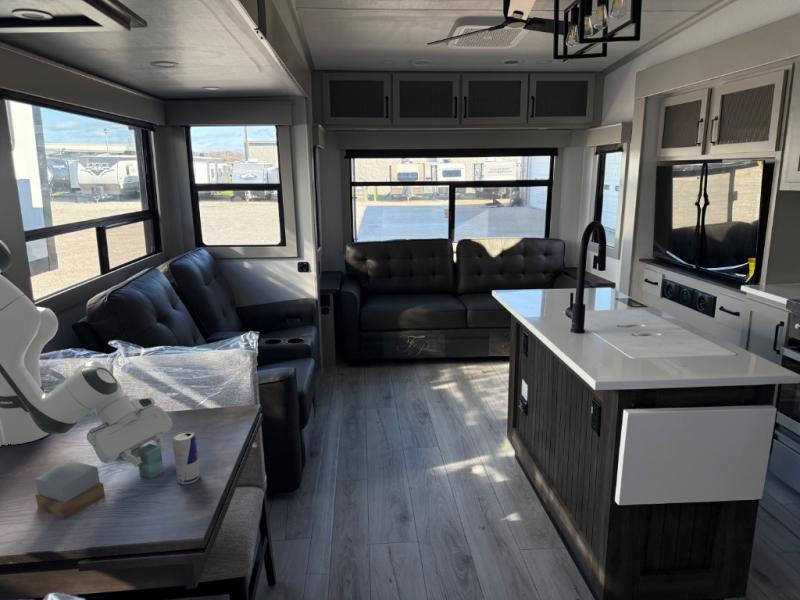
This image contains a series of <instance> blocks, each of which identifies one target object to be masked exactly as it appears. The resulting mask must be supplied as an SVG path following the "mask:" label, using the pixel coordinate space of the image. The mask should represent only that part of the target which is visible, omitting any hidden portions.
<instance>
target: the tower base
mask: <svg viewBox="0 0 800 600" xmlns="http://www.w3.org/2000/svg"><path fill="white" fill-rule="evenodd" d="M105 493H106V492H105V488H104V483H103V482H101V481H100V482H99V483H98V484H96V485H94V486H92V487H91V488H89V489H87V490H86V491H84V492H82V493H80V494H79V495H77V496H75V497H74V498H72V499H70V500H68V501H67V502H62V501H59V500H55V499H52V498H49V497H46V496H42V495H39V494H38V492H37V493H35V498H36V499H35V500H36V505H37V508H38V509H40V510H41V509H42V510H41V511H44V512H46V513H48V514H51V515H54V516H56V517H59V518H61V519H63V520H66V519H68V518H70V517H72V516H74V515H75V514H77V513H79V512H81V511H82V510H84V509H85V508H87V507H89V506H91V505H92V504H94V503H96V502H98V501H100V500H101V499H103V498H105V497H106V495H105Z"/></svg>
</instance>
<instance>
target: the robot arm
mask: <svg viewBox="0 0 800 600" xmlns="http://www.w3.org/2000/svg"><path fill="white" fill-rule="evenodd" d="M12 264H13V256H12V254H11V251H10V249H9V248H8V246H7V245H6V243H4V242H3V241H2V240H1V239H0V447H2V446H1V445H5V446H8V444H9V446H11V445H18V444H25V443H28V442H33V441H34V442H35V441H36V440H40V439H41V438H45V437H46V436H48V435H50V434H51V435H59V434H60V435H61V434H66V433H67V432H69V431H70V430H71V429H73V427H74V426H75V425H76V424H78V422H79V421H81V420H82V419H83V418H84V417H85V416H87V415H88V414H89V413H91V412H93V410H94V412H95V416H96V417H97V419H98V421H100V423H101V424H100V425H98V426H96V427H94V428H91V429H90V430H88V433H87V434H86V439H87V441H88V443H89V444H90V445H91V446H92V447H93V449H94V452H95V455H96V456H97V458H98V459H99V460H100V462H102V463H104V464H108V463H111V462H112V461H114V460H116V459H118V458H120V457H121V458H122V459H123V460H124V461H127V462H129V463H132V464H133V466H134V468H137V467H138V468H139V465H141V464H142V463H143V461H142V460H141V458H140V456H139V457H137V456H135V455H133V454H132V451H133V450H135V449H137V448H139V447H141V446H144V445H145V444H147V443H148V442H151V441H153V442H154V443H156V446H159V447H161V454H162V453H163V454H164V453H165V452H166V450H167V447H165V445H164V442H163V441H164V439H163V435H164V434H166V433H168V432H169V431H170V430H171V429H172V428H173V421H172V419H171V417H170V416H169V415H168V414H167V412H166V411H165V410H164V409H163V408H162V407H160V406H158V405H155V404H156V401H155V399H154V398H152V397H143V398H132V397H130V395H128V394H127V393H126V392H125V391H124V390H123V388H122V385H121V382H119V381H118V379H117V378H116V377H115V375H114V374H113V373H112V372H111V371H110V370H109V369H108V367H106V366H105V365H104V364H103V363H101V362H100V361H95V360H94V361H89V362H86V363H83V364H81V365H80V366H78V367H77V368H76V369H75V370H74V371H73V373H72V374H71V375H70V376H69V377H68V378H66V379H65V380H64V381H63V382H62V383H60V384H59V385H57V386H56V387H55V388H54V389H52V390H51V391H50V392H46V389H45V386H44V384H43V383H42V379H41V372H40V356H41V352H42V350H43V348H44V347H45V345H47V344H48V342H49V341H51V340H52V339H53V338H54V337H55V335H56V333H57V332H58V330H59V329H58V328H59V320H58V318H57V315H56V314H55V312H53V310H52V309H51V308H49V307H43V306H36V305H35V303H34V302H33V301H32V300H31V299H30V298H29V297H28V296H27V295H26V294H25V293H24V292H23V291H22V290H21V289H20V288H19V287H18V286H16V285H15V284H14V283H12V282H11V281H10V280H9V279H8V278H6V277H5V276H3V274H1V273H5V272H6V271H8V269H9V268H10V267H11V266H12ZM10 444H11V445H10Z"/></svg>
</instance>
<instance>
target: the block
mask: <svg viewBox="0 0 800 600" xmlns="http://www.w3.org/2000/svg"><path fill="white" fill-rule="evenodd" d="M139 456H140V458H141V460H142V461H143V463H142V464H141V465H139V466H138V473H139V476H140V475H141V476H140V477H143V476H144V478H146V477H147V479H149V478H150V480H151V478H152V479H153V478H155V477H157V476H158V475H160V474H161V473H160V472H162V471H164V464H163V463H164V462H163V457H162V453H161V447H159V446H157V444H156V445H155V444H152V443H148V444H147V445H145V446H144V445H143V446H142V447H141V448H139V449H137V450H136V457H139ZM159 473H160V474H159ZM162 473H163V472H162ZM157 474H158V475H157ZM156 475H157V476H156ZM154 476H155V477H154Z"/></svg>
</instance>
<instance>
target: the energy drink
mask: <svg viewBox="0 0 800 600" xmlns="http://www.w3.org/2000/svg"><path fill="white" fill-rule="evenodd" d="M172 446H173V448H172V449H173V454H174V455H173V456H174V462H175V463H174V465H175V472H176V478H177V482H178V483H179V484H180V485H191V484H194V483H195V482H197V481H199V478H200V477H201V474H200V466H199V465H200V464H199V456H198V455H199V454H198V448H197V436H196V435H195V432H193V431H190V430H185V431H180V432H177V433H176V434H174V435H173V437H172Z"/></svg>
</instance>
